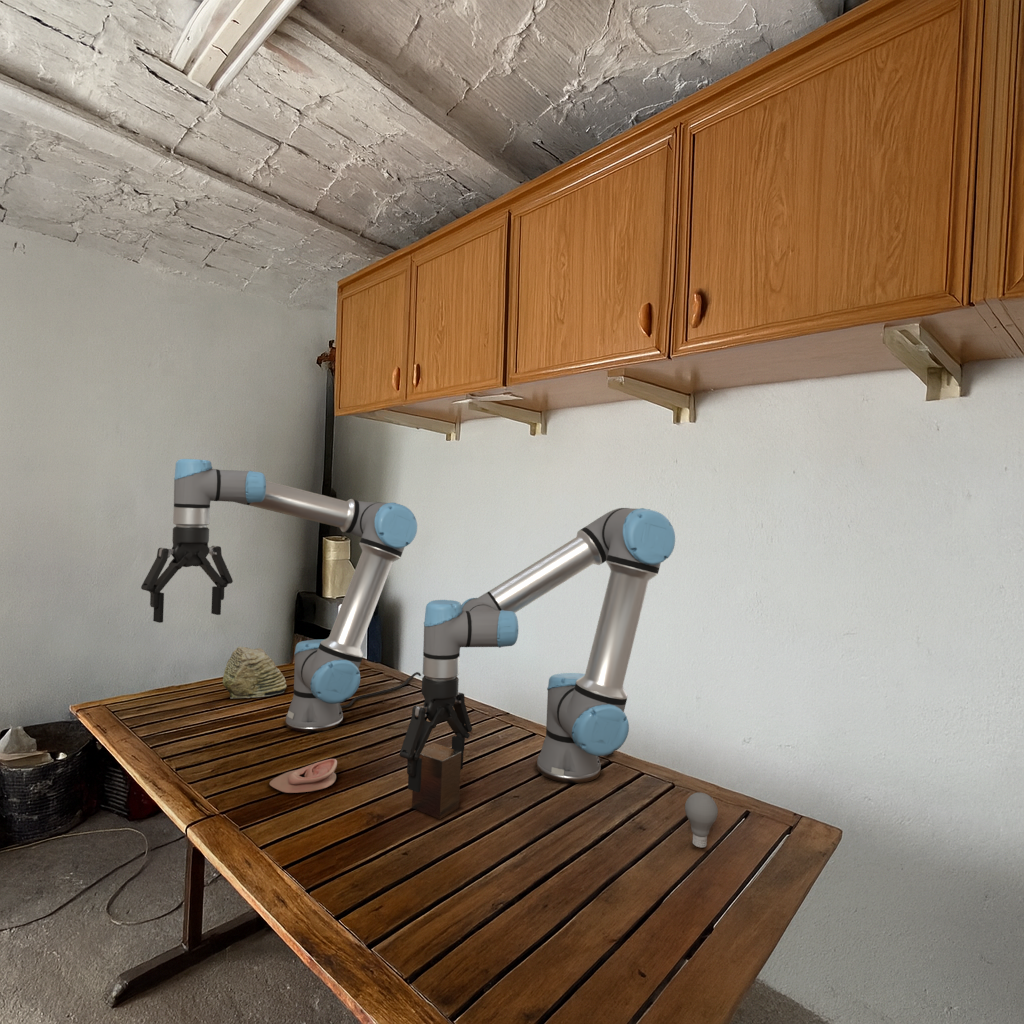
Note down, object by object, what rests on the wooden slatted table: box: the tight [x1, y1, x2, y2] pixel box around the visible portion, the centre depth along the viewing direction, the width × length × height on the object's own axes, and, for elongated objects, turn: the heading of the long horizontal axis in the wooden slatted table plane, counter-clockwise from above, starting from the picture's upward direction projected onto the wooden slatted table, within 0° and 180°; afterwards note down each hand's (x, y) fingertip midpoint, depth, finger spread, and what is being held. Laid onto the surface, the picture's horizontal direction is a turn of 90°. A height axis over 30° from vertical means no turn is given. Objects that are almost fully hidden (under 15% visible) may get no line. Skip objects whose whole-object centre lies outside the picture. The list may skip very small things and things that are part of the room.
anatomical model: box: [269, 758, 338, 794], centre depth 140 cm, size 13×4×12 cm
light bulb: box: [684, 792, 719, 849], centre depth 120 cm, size 6×6×10 cm
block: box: [411, 742, 461, 820], centre depth 131 cm, size 6×8×12 cm
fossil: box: [222, 646, 288, 699], centre depth 198 cm, size 9×18×15 cm, turn 132°
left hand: (188, 617), depth 146 cm, fingers open, 13 cm apart
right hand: (436, 778), depth 131 cm, fingers open, 13 cm apart
